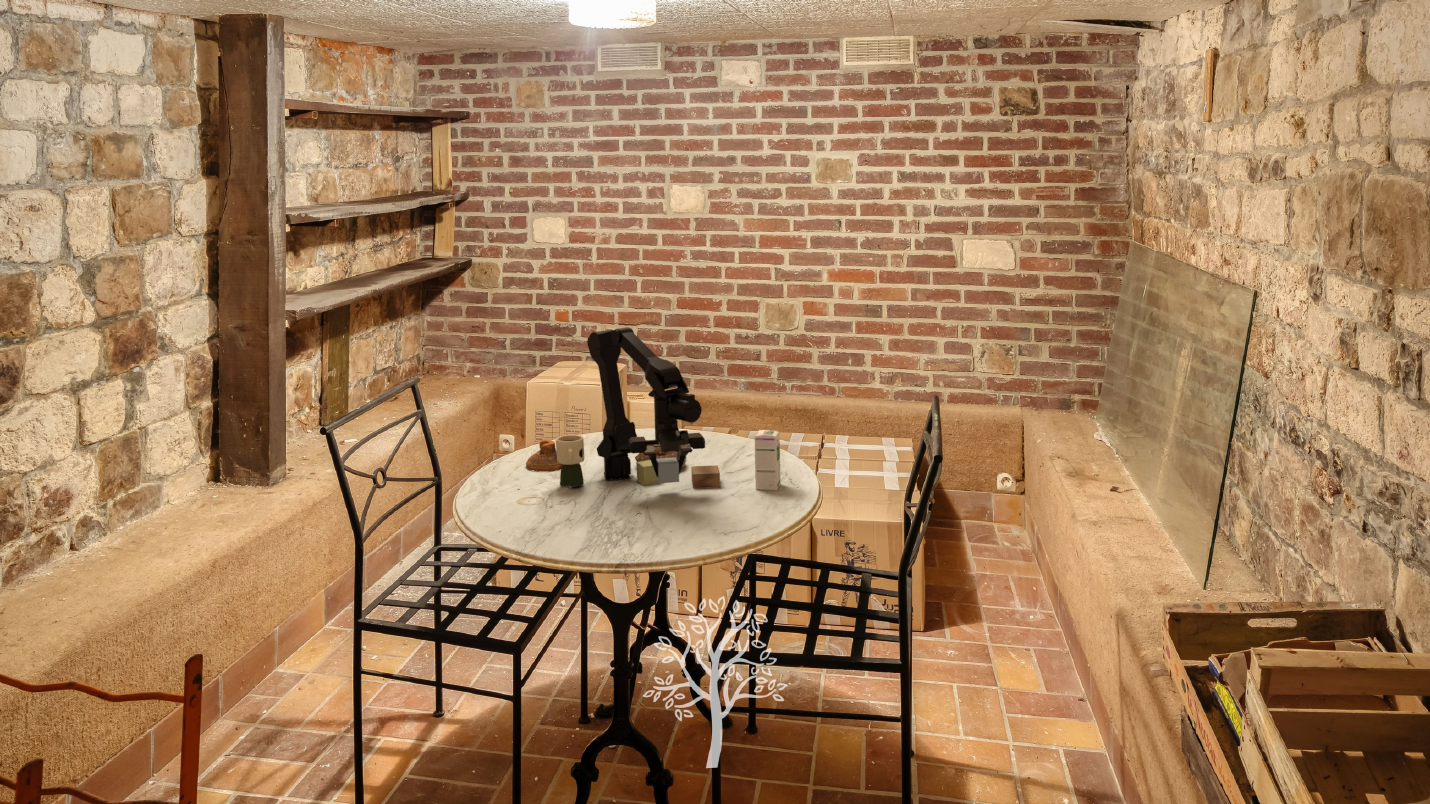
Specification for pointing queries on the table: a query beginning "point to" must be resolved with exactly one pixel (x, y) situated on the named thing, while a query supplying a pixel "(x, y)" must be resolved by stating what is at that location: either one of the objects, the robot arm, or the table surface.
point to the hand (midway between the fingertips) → (667, 475)
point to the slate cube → (668, 470)
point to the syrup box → (767, 459)
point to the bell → (544, 458)
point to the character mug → (570, 459)
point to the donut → (658, 455)
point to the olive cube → (646, 473)
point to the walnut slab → (705, 476)
